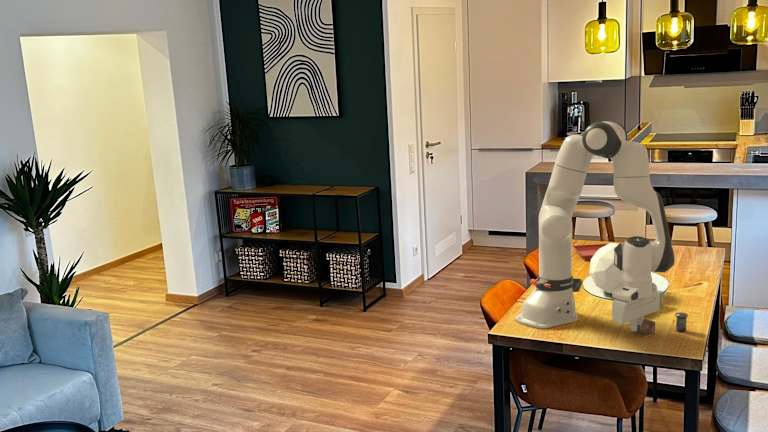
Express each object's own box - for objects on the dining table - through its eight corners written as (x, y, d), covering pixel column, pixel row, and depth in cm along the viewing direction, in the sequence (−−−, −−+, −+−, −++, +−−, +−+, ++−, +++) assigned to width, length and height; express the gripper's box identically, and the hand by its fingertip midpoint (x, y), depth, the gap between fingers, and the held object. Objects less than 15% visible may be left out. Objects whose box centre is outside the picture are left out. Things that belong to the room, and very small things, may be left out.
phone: (556, 288, 274) (561, 277, 287) (556, 291, 274) (561, 280, 288) (577, 290, 271) (581, 278, 284) (577, 292, 271) (581, 281, 285)
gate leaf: (662, 305, 250) (663, 291, 249) (634, 314, 242) (635, 300, 241) (659, 304, 251) (659, 290, 250) (631, 313, 243) (631, 299, 242)
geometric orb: (629, 312, 266) (651, 280, 251) (578, 293, 268) (597, 260, 253) (633, 276, 278) (655, 243, 264) (584, 258, 281) (603, 225, 266)
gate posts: (683, 333, 224) (683, 317, 223) (622, 316, 242) (622, 301, 241) (689, 330, 226) (689, 314, 225) (628, 314, 244) (628, 298, 243)
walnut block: (645, 337, 223) (645, 325, 222) (631, 332, 227) (632, 321, 226) (655, 333, 226) (655, 321, 225) (641, 329, 230) (642, 317, 229)
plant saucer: (581, 262, 312) (581, 255, 311) (572, 252, 330) (572, 245, 329) (622, 260, 311) (622, 253, 311) (611, 250, 329) (611, 243, 328)
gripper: (647, 279, 229) (646, 319, 232) (608, 293, 218) (608, 335, 221) (665, 283, 224) (664, 324, 227) (626, 298, 213) (625, 341, 216)
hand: (636, 330), depth 224 cm, fingers closed
